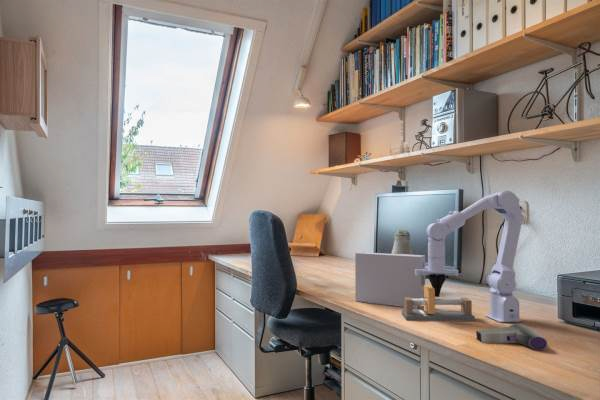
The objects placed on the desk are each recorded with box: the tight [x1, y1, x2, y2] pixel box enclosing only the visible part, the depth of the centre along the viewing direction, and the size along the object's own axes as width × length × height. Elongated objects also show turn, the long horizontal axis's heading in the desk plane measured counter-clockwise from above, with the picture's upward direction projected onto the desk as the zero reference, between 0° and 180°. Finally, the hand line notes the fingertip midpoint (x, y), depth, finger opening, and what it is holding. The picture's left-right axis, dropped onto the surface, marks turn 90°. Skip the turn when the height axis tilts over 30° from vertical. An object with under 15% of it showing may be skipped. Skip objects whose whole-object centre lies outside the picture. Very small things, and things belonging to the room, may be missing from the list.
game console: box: [354, 251, 426, 309], centre depth 173 cm, size 6×27×20 cm, turn 59°
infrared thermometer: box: [475, 323, 548, 351], centre depth 121 cm, size 5×12×15 cm
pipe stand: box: [401, 297, 476, 322], centre depth 151 cm, size 23×8×7 cm, turn 87°
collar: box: [423, 284, 436, 314], centre depth 151 cm, size 2×7×9 cm, turn 177°
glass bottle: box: [391, 229, 413, 255], centre depth 201 cm, size 10×10×28 cm
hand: (436, 296), depth 151 cm, fingers closed
